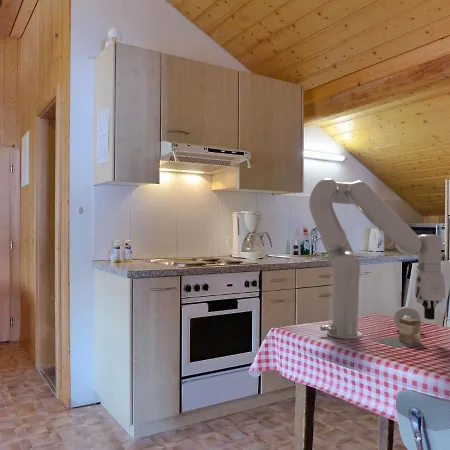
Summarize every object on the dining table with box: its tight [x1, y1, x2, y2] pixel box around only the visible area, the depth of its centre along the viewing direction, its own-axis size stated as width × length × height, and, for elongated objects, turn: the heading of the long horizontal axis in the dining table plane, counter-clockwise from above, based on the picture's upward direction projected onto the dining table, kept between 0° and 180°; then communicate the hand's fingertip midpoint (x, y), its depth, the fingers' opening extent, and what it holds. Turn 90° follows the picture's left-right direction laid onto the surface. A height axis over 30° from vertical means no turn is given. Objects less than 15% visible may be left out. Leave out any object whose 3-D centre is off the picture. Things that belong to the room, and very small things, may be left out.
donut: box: [393, 306, 422, 329], centre depth 179 cm, size 10×3×10 cm, turn 73°
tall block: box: [398, 317, 422, 344], centre depth 161 cm, size 5×5×8 cm
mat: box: [372, 336, 427, 348], centre depth 161 cm, size 14×12×1 cm
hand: (429, 318), depth 164 cm, fingers closed
